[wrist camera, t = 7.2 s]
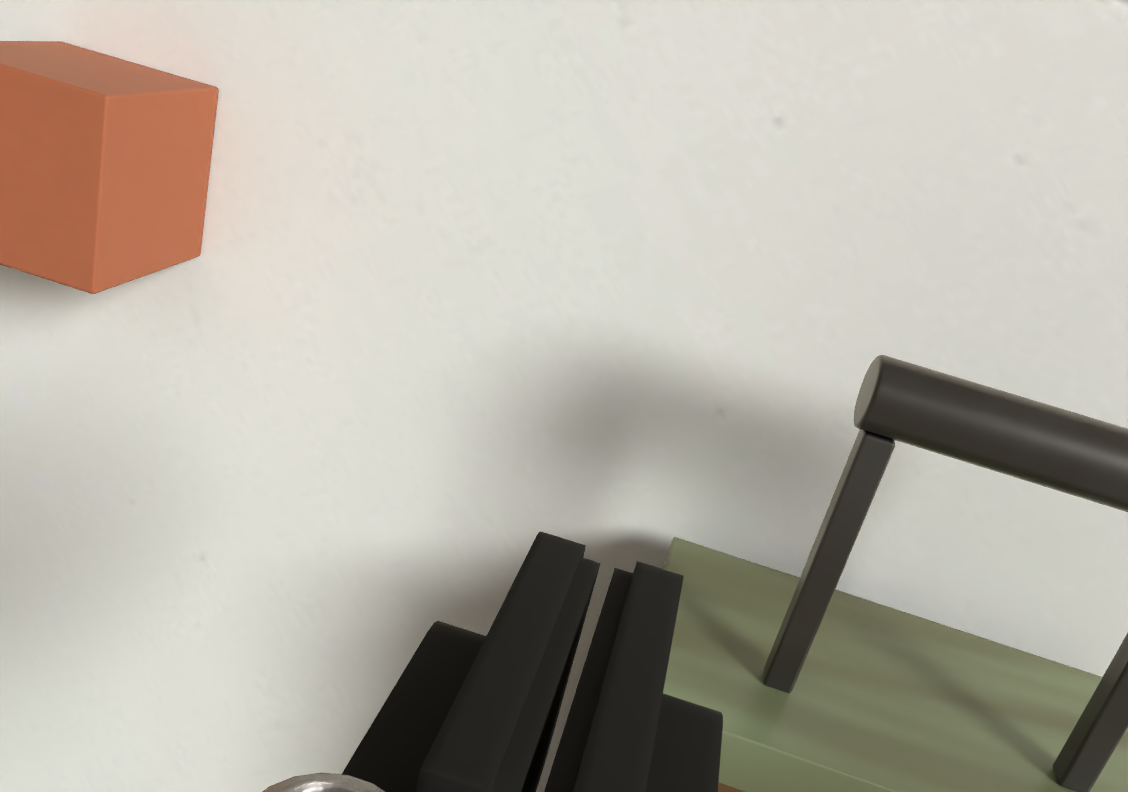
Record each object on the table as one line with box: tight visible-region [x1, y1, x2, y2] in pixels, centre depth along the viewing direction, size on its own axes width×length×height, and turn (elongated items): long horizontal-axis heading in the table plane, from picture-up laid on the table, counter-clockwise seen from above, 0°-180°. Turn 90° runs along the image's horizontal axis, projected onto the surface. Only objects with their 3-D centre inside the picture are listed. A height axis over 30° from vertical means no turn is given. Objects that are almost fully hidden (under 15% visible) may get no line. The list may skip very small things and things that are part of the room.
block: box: [0, 41, 218, 294], centre depth 23 cm, size 4×4×4 cm
